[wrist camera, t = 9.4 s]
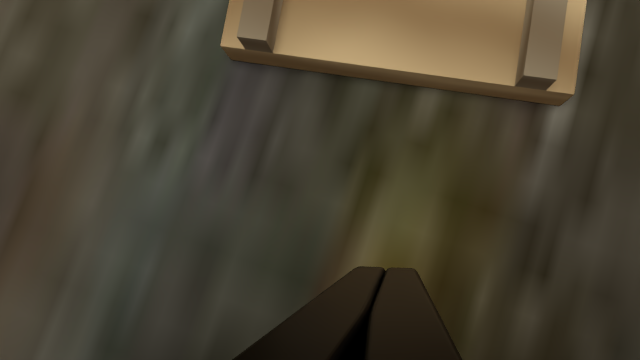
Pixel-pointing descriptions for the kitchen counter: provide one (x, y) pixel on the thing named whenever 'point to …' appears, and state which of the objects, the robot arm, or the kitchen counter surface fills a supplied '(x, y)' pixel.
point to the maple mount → (419, 42)
